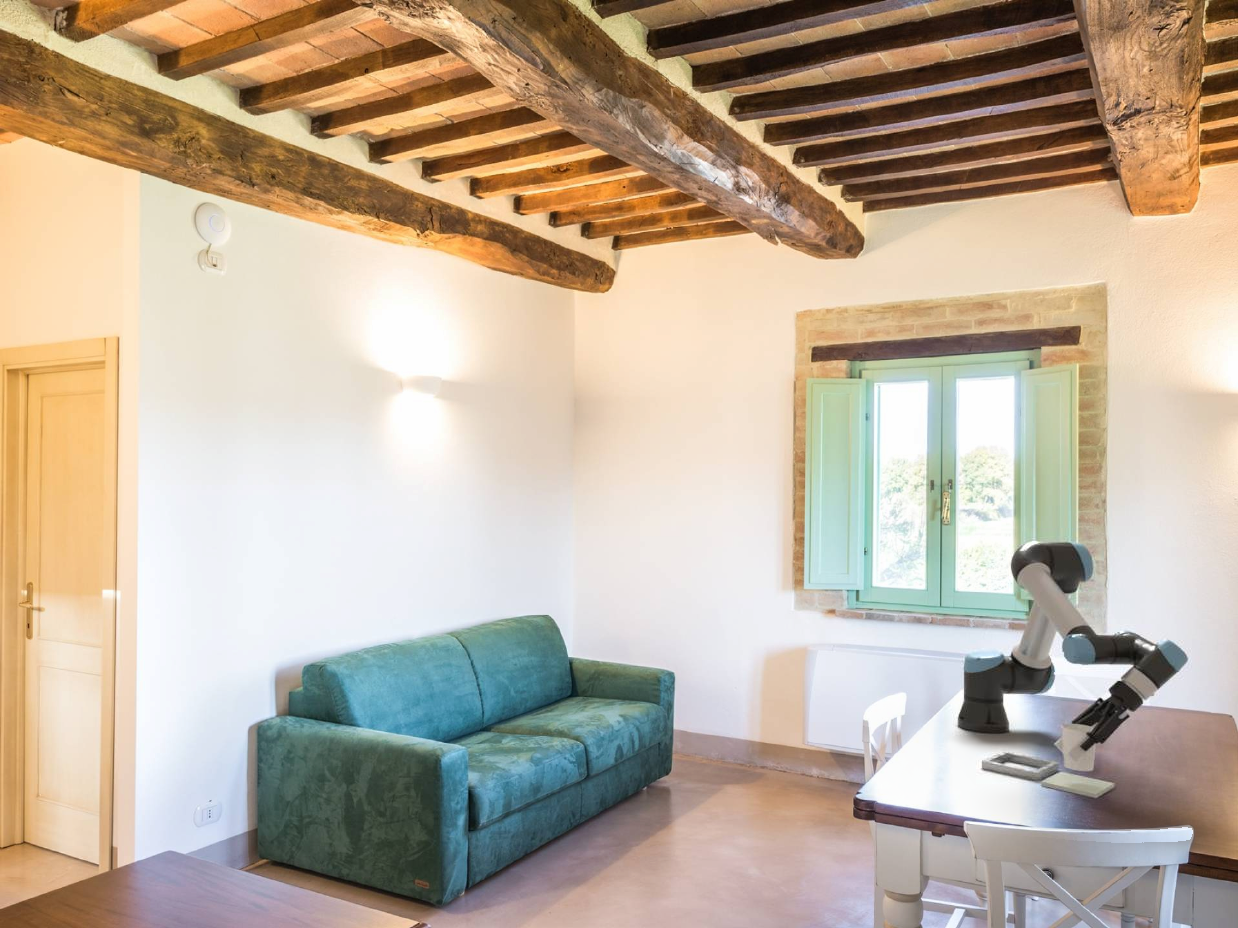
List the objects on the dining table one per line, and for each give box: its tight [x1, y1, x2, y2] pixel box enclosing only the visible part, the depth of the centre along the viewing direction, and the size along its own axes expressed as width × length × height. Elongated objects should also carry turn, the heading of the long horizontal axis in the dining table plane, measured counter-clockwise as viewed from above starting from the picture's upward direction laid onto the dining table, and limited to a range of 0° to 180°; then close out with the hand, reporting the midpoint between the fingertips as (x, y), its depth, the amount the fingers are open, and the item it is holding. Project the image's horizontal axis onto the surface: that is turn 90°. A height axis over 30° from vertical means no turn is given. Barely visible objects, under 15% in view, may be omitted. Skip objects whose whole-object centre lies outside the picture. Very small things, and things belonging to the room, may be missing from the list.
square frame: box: [981, 750, 1059, 782], centre depth 253 cm, size 14×14×2 cm
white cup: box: [1061, 723, 1097, 772], centre depth 239 cm, size 8×8×10 cm
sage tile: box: [1040, 771, 1115, 799], centre depth 239 cm, size 13×13×1 cm
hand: (1064, 752), depth 239 cm, fingers closed on white cup, 8 cm apart
